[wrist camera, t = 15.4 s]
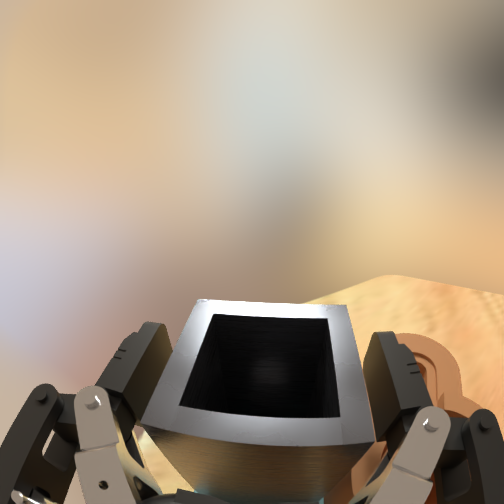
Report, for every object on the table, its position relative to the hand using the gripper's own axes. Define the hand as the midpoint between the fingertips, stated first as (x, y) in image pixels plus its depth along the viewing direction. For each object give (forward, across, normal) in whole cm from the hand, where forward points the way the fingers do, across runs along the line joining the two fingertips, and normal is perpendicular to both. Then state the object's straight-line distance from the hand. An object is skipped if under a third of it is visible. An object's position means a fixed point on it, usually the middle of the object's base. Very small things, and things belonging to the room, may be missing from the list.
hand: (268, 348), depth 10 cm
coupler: (-2, 0, -8) cm, 9 cm away
